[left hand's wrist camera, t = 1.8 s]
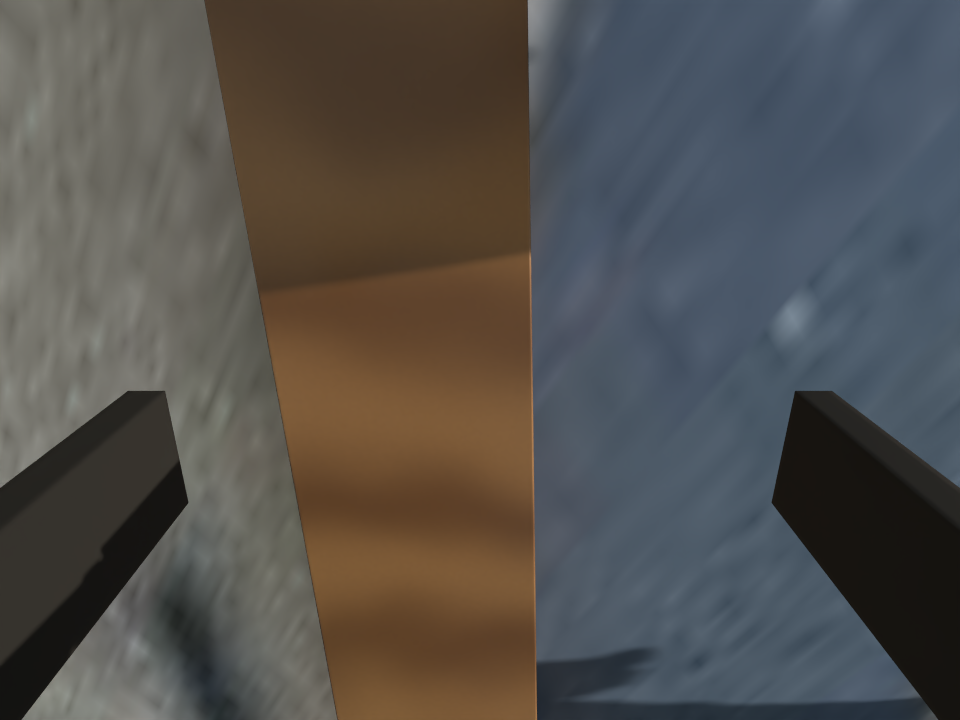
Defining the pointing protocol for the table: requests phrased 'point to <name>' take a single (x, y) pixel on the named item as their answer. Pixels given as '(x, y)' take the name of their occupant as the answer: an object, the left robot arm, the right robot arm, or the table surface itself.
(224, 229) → the table surface
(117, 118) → the table surface
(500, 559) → the wooden beam
